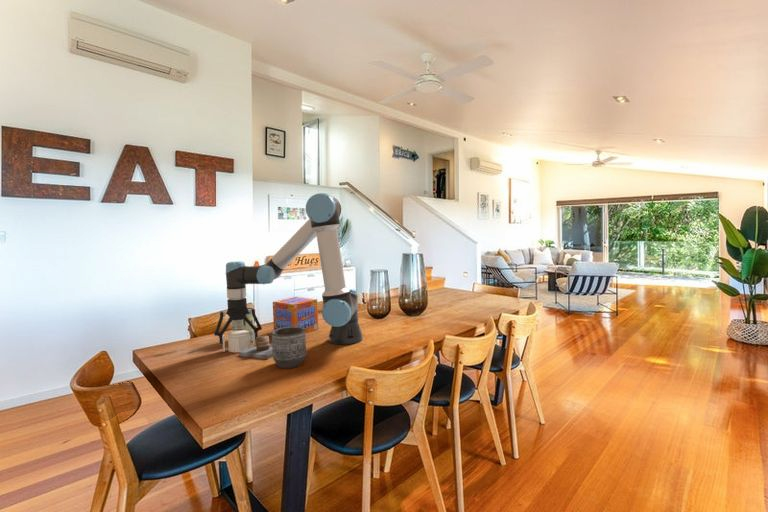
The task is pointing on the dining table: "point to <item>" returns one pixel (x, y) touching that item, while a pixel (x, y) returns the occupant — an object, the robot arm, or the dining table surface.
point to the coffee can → (244, 325)
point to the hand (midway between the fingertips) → (239, 348)
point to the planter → (289, 346)
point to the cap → (238, 341)
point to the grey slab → (259, 349)
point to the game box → (296, 313)
